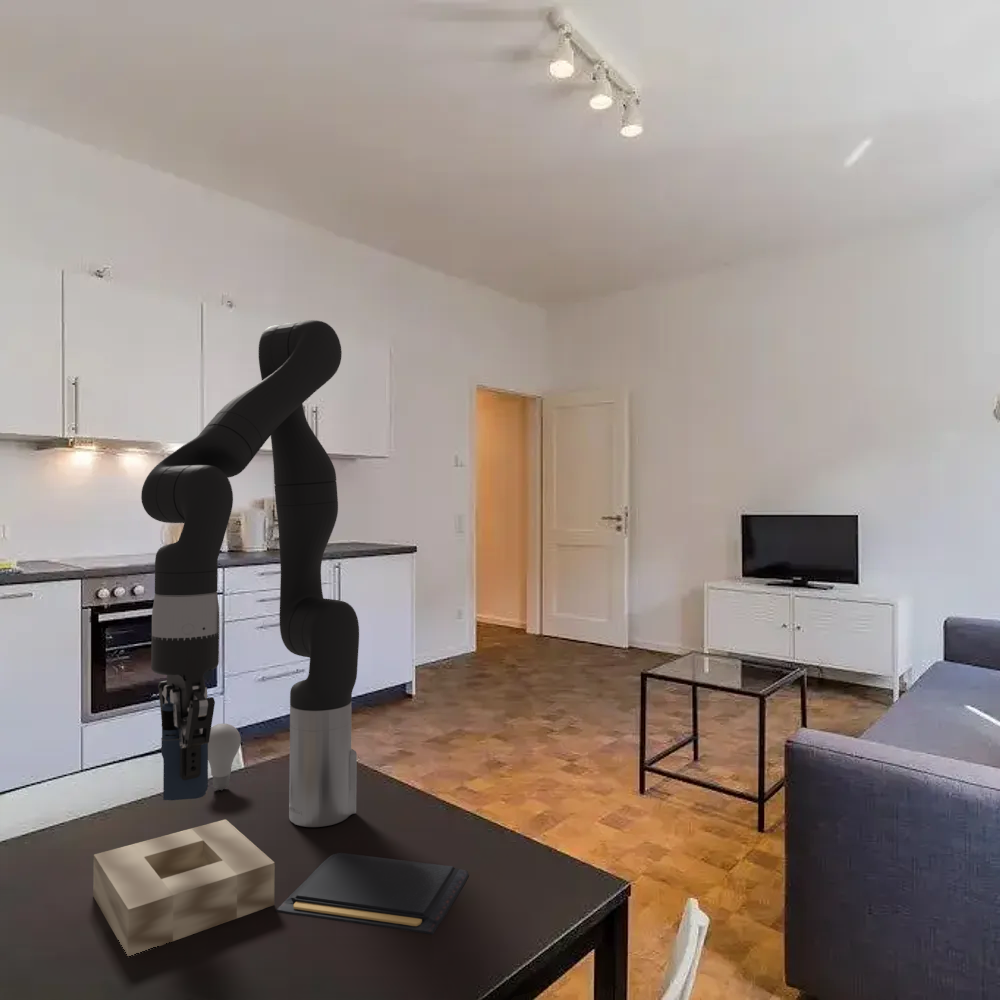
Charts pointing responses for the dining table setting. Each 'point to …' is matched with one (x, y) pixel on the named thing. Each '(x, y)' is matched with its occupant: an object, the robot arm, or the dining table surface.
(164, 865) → the holder block
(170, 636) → the robot arm
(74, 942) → the dining table surface
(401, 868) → the black book
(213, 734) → the lightbulb
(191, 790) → the vaping device
